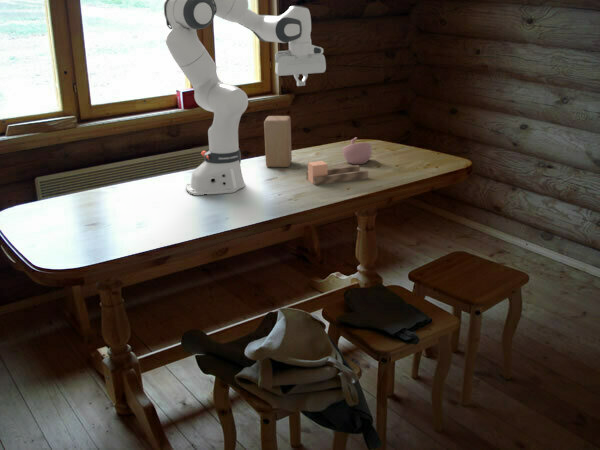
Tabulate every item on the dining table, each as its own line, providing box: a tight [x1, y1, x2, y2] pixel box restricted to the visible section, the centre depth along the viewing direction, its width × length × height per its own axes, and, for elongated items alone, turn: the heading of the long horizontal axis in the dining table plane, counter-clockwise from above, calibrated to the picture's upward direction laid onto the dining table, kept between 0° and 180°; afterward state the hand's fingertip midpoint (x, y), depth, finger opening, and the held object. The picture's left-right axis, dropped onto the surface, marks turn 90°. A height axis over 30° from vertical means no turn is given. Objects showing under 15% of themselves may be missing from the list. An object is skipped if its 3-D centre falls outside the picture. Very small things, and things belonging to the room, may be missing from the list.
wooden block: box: [263, 115, 293, 168], centre depth 271 cm, size 10×10×20 cm
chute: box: [305, 164, 369, 186], centre depth 250 cm, size 22×9×4 cm, turn 110°
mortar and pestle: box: [342, 136, 373, 165], centre depth 270 cm, size 12×12×12 cm
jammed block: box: [307, 160, 328, 184], centre depth 247 cm, size 6×5×7 cm
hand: (301, 85), depth 256 cm, fingers closed
